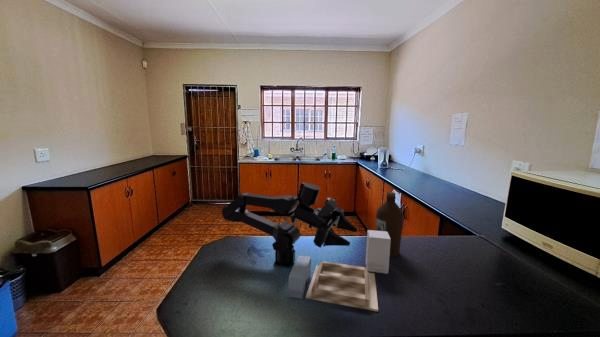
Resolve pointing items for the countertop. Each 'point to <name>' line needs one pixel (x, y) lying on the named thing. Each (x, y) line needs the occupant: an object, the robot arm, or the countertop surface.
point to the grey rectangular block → (299, 276)
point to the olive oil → (391, 222)
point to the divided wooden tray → (343, 285)
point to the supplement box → (378, 251)
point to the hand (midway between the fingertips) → (353, 237)
